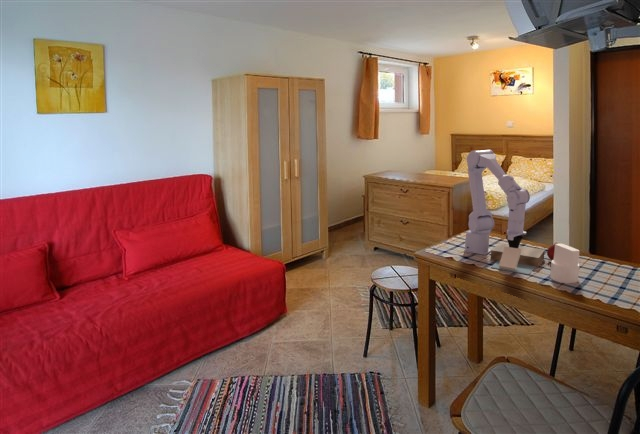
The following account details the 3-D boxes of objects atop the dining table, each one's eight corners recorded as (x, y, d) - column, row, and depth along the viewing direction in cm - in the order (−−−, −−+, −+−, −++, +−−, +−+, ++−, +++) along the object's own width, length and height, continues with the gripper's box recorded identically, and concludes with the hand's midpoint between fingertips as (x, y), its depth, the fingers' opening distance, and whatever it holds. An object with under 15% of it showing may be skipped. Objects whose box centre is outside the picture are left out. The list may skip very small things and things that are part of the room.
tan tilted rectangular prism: (499, 268, 173) (498, 265, 171) (505, 249, 176) (504, 246, 175) (515, 271, 169) (515, 268, 168) (521, 251, 173) (520, 248, 172)
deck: (490, 259, 184) (491, 250, 183) (498, 251, 193) (499, 243, 192) (537, 267, 173) (538, 257, 172) (543, 259, 182) (544, 249, 182)
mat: (491, 267, 174) (491, 267, 174) (498, 260, 182) (498, 260, 182) (529, 274, 166) (529, 274, 166) (535, 267, 174) (535, 266, 174)
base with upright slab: (583, 281, 158) (587, 249, 156) (561, 284, 157) (565, 252, 154) (565, 273, 167) (568, 242, 164) (544, 275, 165) (547, 244, 162)
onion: (561, 264, 175) (563, 245, 174) (545, 262, 178) (547, 243, 177) (562, 260, 180) (564, 241, 178) (546, 258, 183) (548, 239, 181)
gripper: (522, 225, 165) (519, 260, 168) (531, 217, 176) (528, 250, 179) (502, 223, 169) (500, 256, 172) (512, 215, 180) (510, 247, 183)
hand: (513, 253), depth 176 cm, fingers closed
